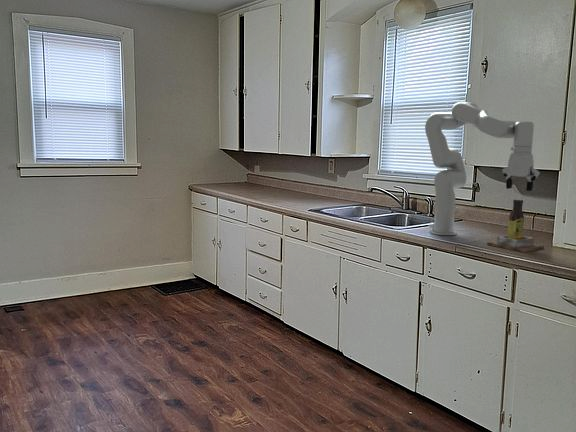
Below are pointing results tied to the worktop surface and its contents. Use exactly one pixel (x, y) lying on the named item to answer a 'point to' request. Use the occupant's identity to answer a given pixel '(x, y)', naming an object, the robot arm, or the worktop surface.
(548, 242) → the worktop surface
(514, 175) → the robot arm
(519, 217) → the sauce bottle
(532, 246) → the condiment board
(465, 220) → the worktop surface
